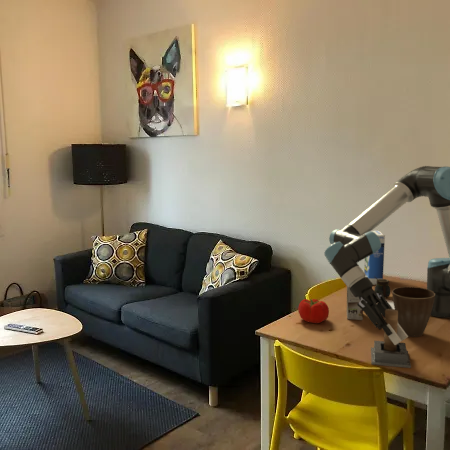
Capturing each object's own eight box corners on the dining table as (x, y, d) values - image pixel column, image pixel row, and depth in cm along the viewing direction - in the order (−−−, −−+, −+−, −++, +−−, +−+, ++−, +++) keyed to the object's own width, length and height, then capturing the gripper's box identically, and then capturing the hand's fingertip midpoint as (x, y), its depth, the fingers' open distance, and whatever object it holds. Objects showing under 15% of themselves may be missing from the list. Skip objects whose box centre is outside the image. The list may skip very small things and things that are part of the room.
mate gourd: (392, 299, 227) (393, 277, 226) (376, 299, 227) (376, 278, 226) (387, 294, 234) (388, 273, 233) (371, 294, 234) (372, 274, 233)
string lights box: (363, 278, 264) (365, 230, 260) (378, 278, 263) (379, 230, 259) (368, 284, 251) (369, 234, 247) (383, 285, 250) (385, 234, 246)
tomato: (335, 320, 201) (335, 300, 200) (317, 328, 192) (317, 307, 191) (309, 313, 210) (310, 293, 209) (291, 320, 201) (291, 300, 200)
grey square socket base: (407, 352, 168) (408, 342, 168) (410, 368, 157) (411, 356, 156) (370, 349, 171) (371, 339, 171) (371, 364, 160) (371, 353, 159)
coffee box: (363, 320, 200) (364, 281, 198) (346, 319, 202) (347, 281, 199) (361, 312, 209) (362, 275, 207) (346, 312, 210) (346, 275, 208)
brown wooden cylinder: (395, 349, 165) (397, 309, 163) (396, 354, 161) (398, 313, 159) (383, 348, 166) (384, 308, 164) (383, 353, 162) (385, 312, 160)
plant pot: (411, 343, 176) (412, 300, 173) (382, 330, 189) (383, 289, 187) (442, 336, 182) (444, 294, 179) (412, 323, 195) (413, 284, 193)
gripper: (363, 283, 178) (405, 339, 169) (337, 293, 166) (380, 354, 157) (377, 271, 173) (421, 328, 164) (351, 281, 161) (397, 342, 152)
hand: (401, 340), depth 160 cm, fingers closed on brown wooden cylinder, 4 cm apart
